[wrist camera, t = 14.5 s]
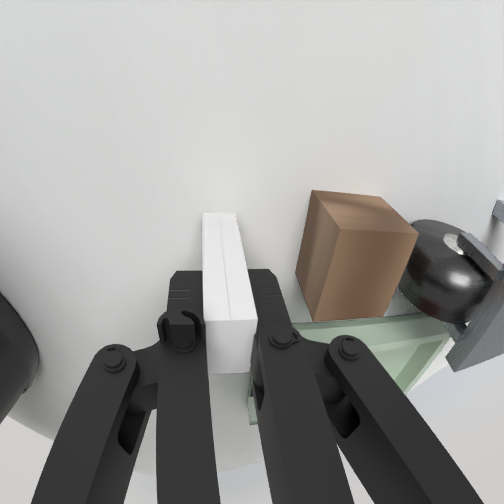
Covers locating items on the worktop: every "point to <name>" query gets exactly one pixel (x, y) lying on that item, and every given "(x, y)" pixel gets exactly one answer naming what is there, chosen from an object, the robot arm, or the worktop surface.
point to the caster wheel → (458, 289)
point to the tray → (384, 344)
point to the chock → (352, 255)
